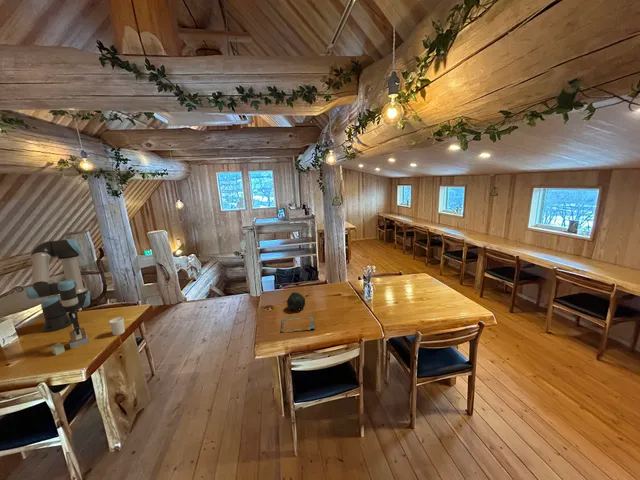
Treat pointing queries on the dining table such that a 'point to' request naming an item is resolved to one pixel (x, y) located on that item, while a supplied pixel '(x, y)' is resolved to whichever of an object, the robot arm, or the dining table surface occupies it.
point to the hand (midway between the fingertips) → (77, 335)
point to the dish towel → (299, 328)
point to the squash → (296, 301)
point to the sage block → (57, 349)
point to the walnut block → (73, 338)
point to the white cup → (117, 325)
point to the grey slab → (79, 342)
